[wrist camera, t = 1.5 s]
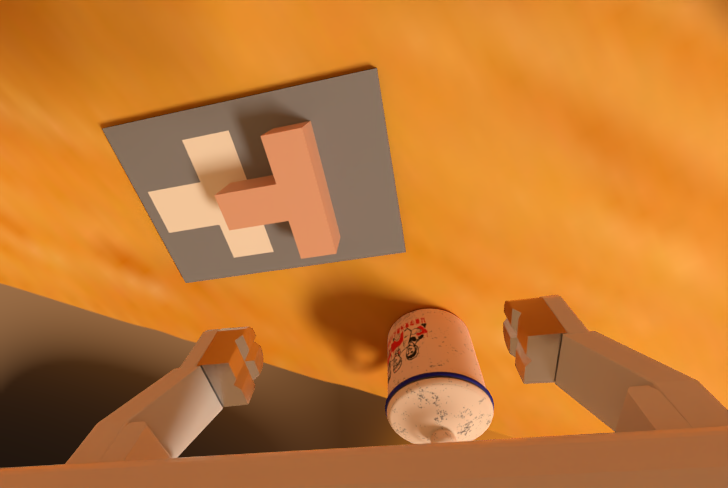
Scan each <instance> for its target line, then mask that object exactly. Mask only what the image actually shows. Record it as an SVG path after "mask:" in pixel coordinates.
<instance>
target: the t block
mask: <svg viewBox="0 0 728 488" xmlns="http://www.w3.org/2000/svg"><path fill="white" fill-rule="evenodd" d="M261 139H262V143H263V146H264V149H265V152H266V155H267V158H268V161H269V164H270V167H271V170H272V173H273V175H270V176H265V177H259V178H254V179H248V180H243V181H237V182H232V183H229V184H228V185H227V186H226V187H224V188H223V189H222V190H220V191H219V192H218V193H217V194H215V195H214V196H215V198H216V201H217V203H218V205H219V208H220V210H221V212H222V215H223V217H224V219H225V222H226V224H227V226H228V229H229V230H235V229H241V228H247V227H254V226H260V225H266V224H272V223H278V222H284V221H289V224H290V227H291V230H292V233H293V236H294V239H295V242H296V245H297V248H298V251H299V254H300V257H301V259H303V258H310V257H317V256H324V255H331V254H336V253H337V249H338V245H339V241H340V233H339V229H338V225H337V221H336V217H335V213H334V209H333V206H332V202H331V198H330V194H329V190H328V186H327V182H326V178H325V175H324V171H323V167H322V163H321V159H320V155H319V151H318V147H317V144H316V140H315V136H314V132H313V128H312V124H311V121H307V122H302V123H297V124H292V125H287V126H282V127H277V128H273V129H271V130H270V131H268V132H266V133H265V134H263V135H261Z"/></svg>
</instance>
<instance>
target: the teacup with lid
mask: <svg viewBox="0 0 728 488" xmlns="http://www.w3.org/2000/svg"><path fill="white" fill-rule="evenodd" d="M385 411H386V416H387V418H388V420H389V423H390V425H391V426H392V428H393V429H394V431H395V432H396V433H397V434H398V435H400V436H401V437H402V438H404V439H405V440H407V441H409V442H412V443H414V444H425V443H442V442H459V441H472V440H474V439H476V438H477V437H479V436H480V435H481V434H483V433H484V432H485V431H486V429H487V428H488V427H489V425H490V423H491V421H492V418H493V413H494V412H493V411H494V403H493V399H492V396H491V395H490V393H489V391H488V390H487V389H486V386H485V383H484V380H483V377H482V373H481V370H480V367H479V364H478V361H477V357H476V354H475V351H474V348H473V344H472V341H471V338H470V335H469V331H468V329H467V327H466V325H465V324H464V323H463V321H462V320H460V319H459V318H458V317H457V316H455V315H454V314H452V313H450V312H447V311H444V310H439V309H420V310H415V311H412V312H410V313H407V314H405V315H404V316H402V317H401V318H399V319H398V320H397V321H396V322H395V323H394V324H393V326H392V327H391V329H390V331H389V334H388V398H387V400H386V405H385Z"/></svg>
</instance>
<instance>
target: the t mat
mask: <svg viewBox="0 0 728 488" xmlns="http://www.w3.org/2000/svg"><path fill="white" fill-rule="evenodd" d="M307 121H311V124H312V128H313V132H314V136H315V140H316V144H317V147H318V151H319V155H320V159H321V163H322V167H323V171H324V175H325V178H326V182H327V186H328V190H329V194H330V198H331V202H332V206H333V209H334V213H335V217H336V221H337V225H338V229H339V233H340V241H339V245H338V249H337V253H336V254H331V255H324V256H317V257H310V258H303V259H301V257H300V254H299V251H298V248H297V245H296V242H295V239H294V236H293V233H292V230H291V227H290V224H289V221H284V222H278V223H272V224H266V225H260V226H254V227H247V228H241V229H235V230H229V229H228V226H227V224H226V222H225V219H224V217H223V215H222V212H221V210H220V208H219V205H218V203H217V201H216V198H215V196H214V195H215V194H217V193H218V192H219V191H220V190H222V189H223V188H224V187H226V186H227V185H228V184H229V183H232V182H237V181H243V180H248V179H254V178H259V177H265V176H270V175H273V173H272V170H271V167H270V164H269V161H268V158H267V155H266V152H265V149H264V146H263V143H262V139H261V135H263V134H265V133H266V132H268V131H270V130H271V129H273V128H277V127H282V126H287V125H292V124H297V123H302V122H307ZM102 130H103V131H104V133H105V135H106V137H107V139H108V141H109V143H110V144H111V146H112V148H113V150H114V152H115V154H116V155H117V157H118V159H119V161H120V163H121V165H122V166H123V168H124V170H125V172H126V174H127V176H128V177H129V179H130V181H131V183H132V185H133V187H134V189H135V190H136V192H137V194H138V196H139V198H140V200H141V201H142V203H143V205H144V207H145V209H146V211H147V212H148V214H149V216H150V218H151V220H152V222H153V223H154V225H155V227H156V229H157V231H158V233H159V235H160V236H161V238H162V240H163V242H164V244H165V246H166V247H167V249H168V251H169V253H170V255H171V257H172V258H173V260H174V262H175V264H176V266H177V268H178V269H179V271H180V273H181V275H182V277H183V279H184V281H185V282H186V283H189V282H196V281H203V280H210V279H217V278H225V277H232V276H239V275H246V274H253V273H260V272H267V271H274V270H282V269H289V268H296V267H303V266H310V265H317V264H324V263H331V262H338V261H346V260H353V259H360V258H367V257H374V256H381V255H388V254H395V253H402V252H406V250H405V243H404V237H403V231H402V224H401V218H400V212H399V205H398V199H397V193H396V186H395V180H394V174H393V167H392V161H391V155H390V148H389V142H388V136H387V129H386V123H385V117H384V110H383V104H382V98H381V91H380V85H379V79H378V72H377V68H374V69H370V70H365V71H361V72H356V73H352V74H347V75H343V76H338V77H333V78H329V79H324V80H320V81H315V82H311V83H306V84H302V85H297V86H293V87H288V88H284V89H279V90H275V91H270V92H266V93H261V94H257V95H252V96H248V97H243V98H239V99H234V100H229V101H225V102H220V103H216V104H211V105H207V106H202V107H198V108H193V109H189V110H184V111H180V112H175V113H171V114H166V115H162V116H157V117H153V118H148V119H144V120H139V121H135V122H130V123H125V124H121V125H116V126H112V127H107V128H103V129H102Z"/></svg>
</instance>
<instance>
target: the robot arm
mask: <svg viewBox="0 0 728 488" xmlns="http://www.w3.org/2000/svg"><path fill="white" fill-rule="evenodd" d="M504 313H505V315H506V317H507V319H506V320H505V321H504V323H503V333H504V339H505V343H506V346H507V348H508V351H509V353H510V354H511V355H513V356H514V357H516V359H515V366H516V368H517V370H518V372H519V375H520V377H521V379H522V381H523V383H524V384H529V383H550V382H555V384H556V385H557V386H559V387H560V388H561V389H562V390H564V391H565V392H566V393H567V394H569V395H570V396H571V397H572V398H574V399H575V400H576V401H577V402H579V403H580V404H581V405H582V406H584V407H585V408H586V409H587V410H589V411H590V412H591V413H592V414H594V415H595V416H596V417H597V418H599V419H600V420H601V421H602V422H604V423H605V424H606V425H607V426H609V427H610V428H611V429H612V430H614V431H615V433H598V434H580V435H563V436H546V437H528V438H511V439H493V440H476V441H459V442H442V443H425V444H408V445H392V446H373V447H356V448H338V449H321V450H304V451H287V452H269V453H252V454H235V455H218V456H202V457H201V456H200V457H186V458H185V457H183V458H177V457H178V456H179V455H180V454H181V453H182V452H183V451H184V450H185V448H186V447H187V446H188V445H189V444H190V443H191V442H192V441H193V440H194V439H195V438H196V437H197V436H198V434H199V433H200V432H201V431H202V430H203V429H204V428H205V427H206V426H207V425H208V424H209V423H210V422H211V421H212V419H213V418H214V417H215V416H216V415H217V414H218V413H219V412H220V411H221V410H222V407H227V406H237V405H246V404H249V401H250V399H251V396H252V393H253V391H254V388H255V384H254V382H253V380H254V379H255V378H257V377H258V375H260V373H261V370H262V366H263V353H262V349H261V347H260V345H259V344H257V343H256V342H254V339H255V337H256V335H255V332H254V330H253V328H251V327H238V328H225V329H216V330H207V331H205V332H203V334H202V335H201V337H200V338H199V340H198V341H197V343H196V344H195V346H194V347H193V349H192V350H191V352H190V353H189V355H188V356H187V358H186V359H185V361H184V362H183V364H182V365H181V367H180V368H175V369H174V370H172V371H171V372H169V373H168V374H167V375H165V376H164V377H162V378H161V379H160V380H158V381H157V382H155V383H154V384H152V385H151V386H150V387H148V388H147V389H145V390H144V391H143V392H141V393H140V394H138V395H137V396H135V397H134V398H133V399H131V400H130V401H128V402H127V403H125V404H124V405H123V406H121V407H120V408H118V409H117V410H116V411H114V412H113V413H111V414H110V415H109V416H107V417H106V418H105V419H103V420H102V421H100V422H99V423H97V425H96V426H95V427H94V428H93V430H92V431H91V432H90V433H89V435H88V436H87V437H86V439H85V440H84V441H83V442H82V444H81V445H80V446H79V447H78V449H77V450H76V451H75V452H74V454H73V455H72V456H71V457H70V459H69V460H68V461H67V462H66V464H63V465H46V466H29V467H14V468H13V467H12V468H0V488H728V410H727V409H726V408H725V407H724V406H723V405H722V404H721V403H720V402H719V401H718V400H717V399H716V398H715V397H714V396H713V395H712V394H711V393H710V392H709V391H708V390H707V389H706V388H704V387H703V386H702V385H701V384H700V383H699V382H698V381H697V380H695V379H693V378H691V377H689V376H687V375H685V374H683V373H681V372H678V371H676V370H674V369H672V368H670V367H668V366H666V365H664V364H662V363H660V362H658V361H656V360H654V359H651V358H649V357H647V356H645V355H643V354H641V353H639V352H637V351H635V350H633V349H631V348H629V347H627V346H625V345H622V344H620V343H618V342H616V341H614V340H612V339H610V338H608V337H606V336H604V335H602V334H600V333H598V332H596V331H588V329H587V328H586V327H585V326H584V325H583V323H582V322H581V321H580V320H579V318H578V317H577V316H576V315H575V314H574V312H573V311H572V310H571V309H570V307H569V306H568V305H567V304H566V302H565V301H564V300H563V299H562V298H561V296H559V295H551V296H543V297H539V298H529V299H519V300H510V301H505V304H504Z"/></svg>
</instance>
